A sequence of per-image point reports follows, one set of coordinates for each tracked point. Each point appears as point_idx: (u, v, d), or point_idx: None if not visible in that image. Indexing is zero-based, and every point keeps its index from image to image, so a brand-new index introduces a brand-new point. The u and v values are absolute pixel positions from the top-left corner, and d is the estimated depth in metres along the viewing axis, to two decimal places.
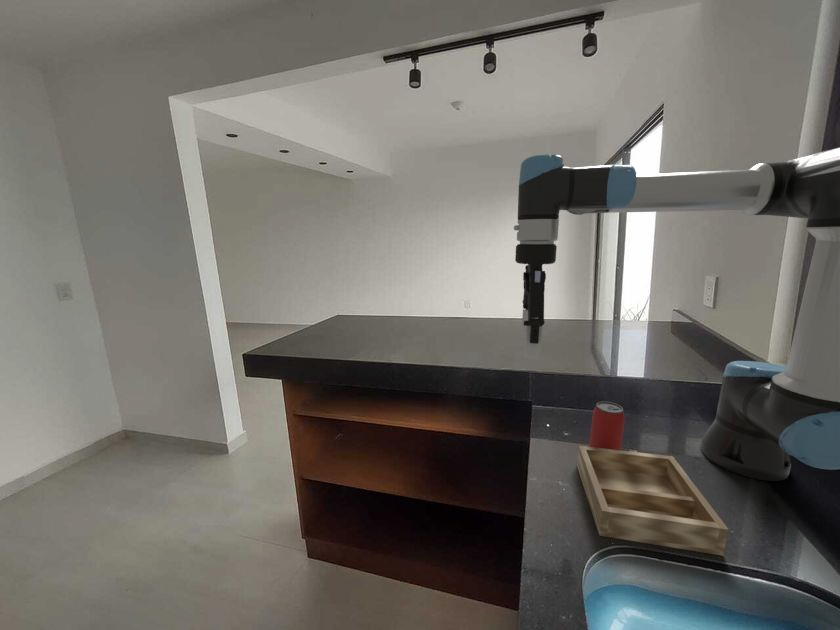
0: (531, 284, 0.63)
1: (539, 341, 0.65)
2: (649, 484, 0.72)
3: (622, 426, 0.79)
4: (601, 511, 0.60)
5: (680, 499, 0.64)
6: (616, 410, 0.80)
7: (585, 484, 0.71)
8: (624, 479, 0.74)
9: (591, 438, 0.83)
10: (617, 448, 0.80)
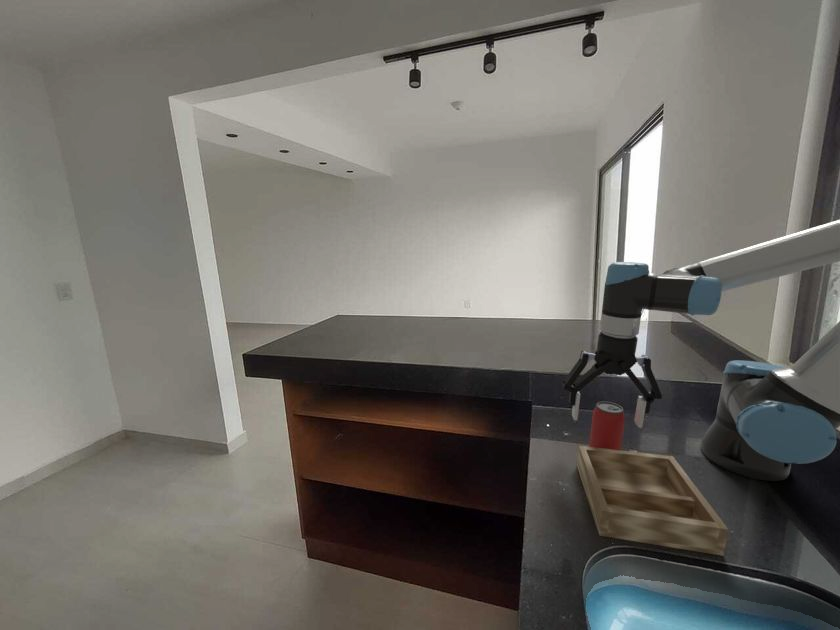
0: (578, 360, 0.81)
1: (575, 405, 0.82)
2: (649, 484, 0.72)
3: (622, 426, 0.79)
4: (601, 511, 0.60)
5: (680, 499, 0.64)
6: (616, 410, 0.80)
7: (585, 484, 0.71)
8: (624, 479, 0.74)
9: (591, 438, 0.83)
10: (617, 448, 0.80)
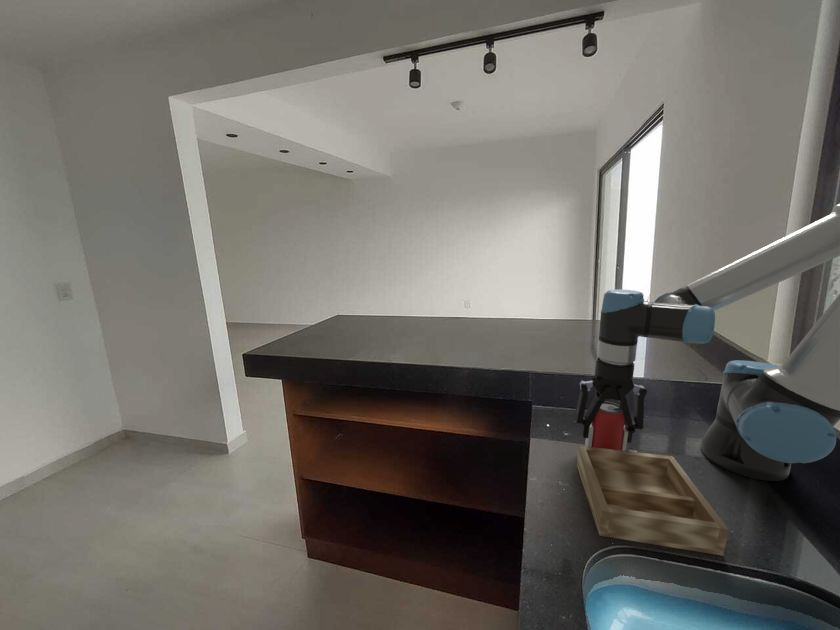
0: (580, 390, 0.83)
1: (588, 438, 0.83)
2: (649, 484, 0.72)
3: (622, 426, 0.79)
4: (601, 511, 0.60)
5: (680, 499, 0.64)
6: (616, 410, 0.80)
7: (585, 484, 0.71)
8: (624, 479, 0.74)
9: None
10: (617, 448, 0.80)
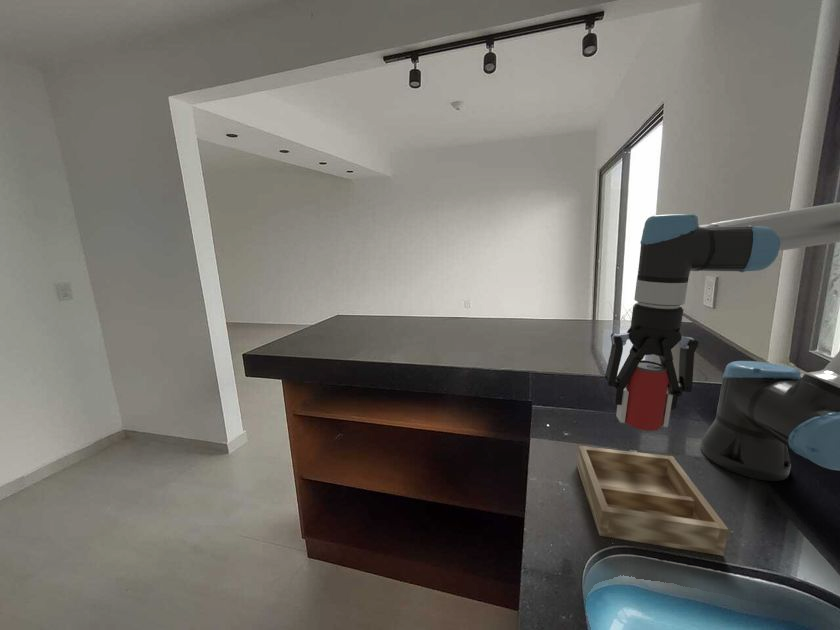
0: (612, 346, 0.67)
1: (622, 405, 0.67)
2: (649, 484, 0.72)
3: (666, 388, 0.64)
4: (601, 511, 0.60)
5: (680, 499, 0.64)
6: (658, 368, 0.65)
7: (585, 484, 0.71)
8: (624, 479, 0.74)
9: None
10: (659, 415, 0.65)
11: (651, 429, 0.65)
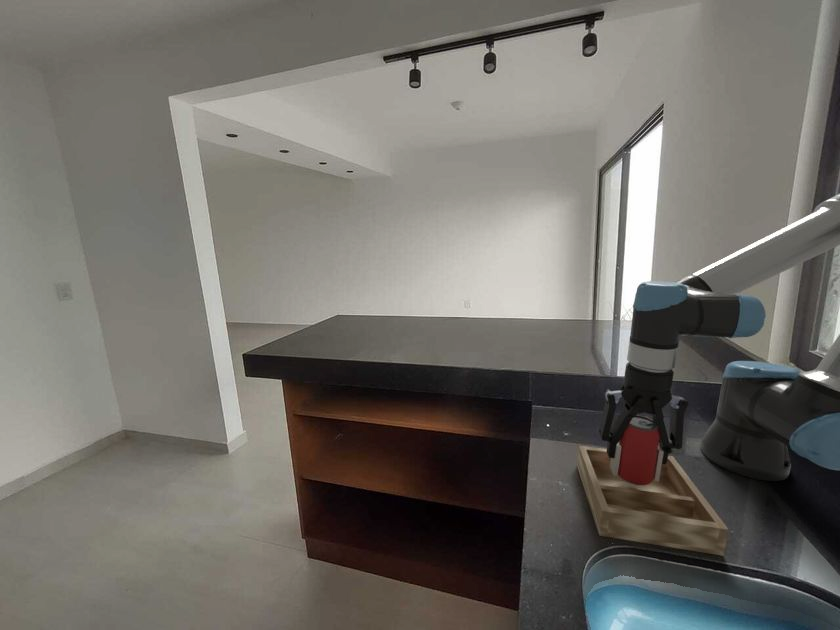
0: None
1: (615, 458, 0.70)
2: (649, 484, 0.72)
3: (657, 445, 0.66)
4: (601, 511, 0.60)
5: (680, 499, 0.64)
6: (649, 426, 0.67)
7: (585, 484, 0.71)
8: None
9: None
10: (651, 471, 0.67)
11: (643, 484, 0.67)
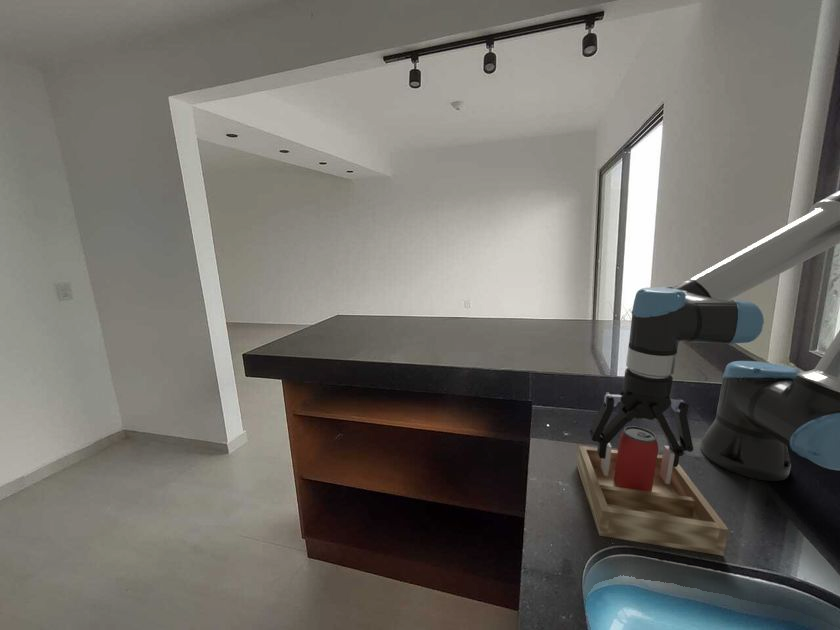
0: (603, 403, 0.70)
1: (605, 459, 0.70)
2: None
3: (655, 457, 0.67)
4: (601, 511, 0.60)
5: (680, 499, 0.64)
6: (648, 437, 0.68)
7: (585, 484, 0.71)
8: None
9: (617, 469, 0.71)
10: (650, 482, 0.68)
11: None
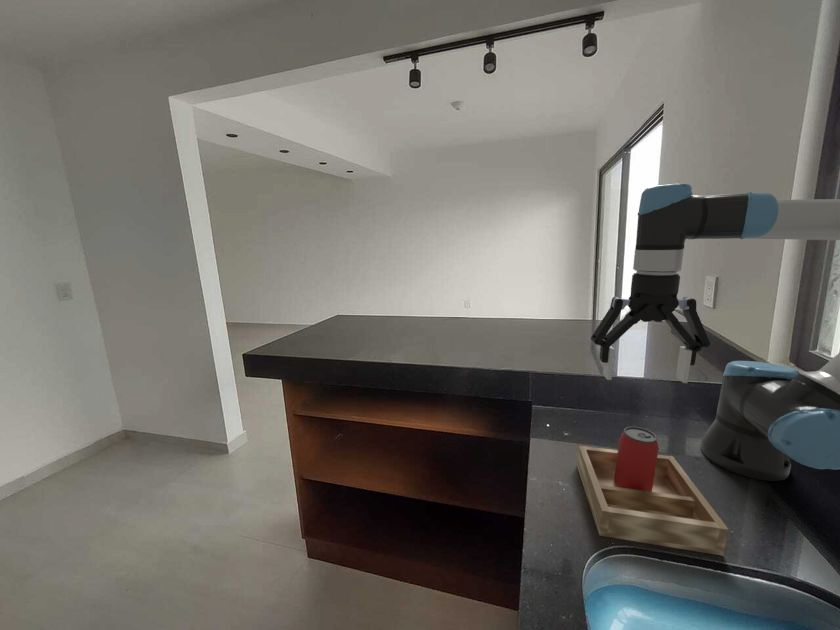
0: None
1: (608, 362, 0.70)
2: None
3: (656, 457, 0.67)
4: (601, 511, 0.60)
5: (680, 499, 0.64)
6: (648, 438, 0.68)
7: (585, 484, 0.71)
8: None
9: (617, 470, 0.71)
10: (650, 483, 0.68)
11: None
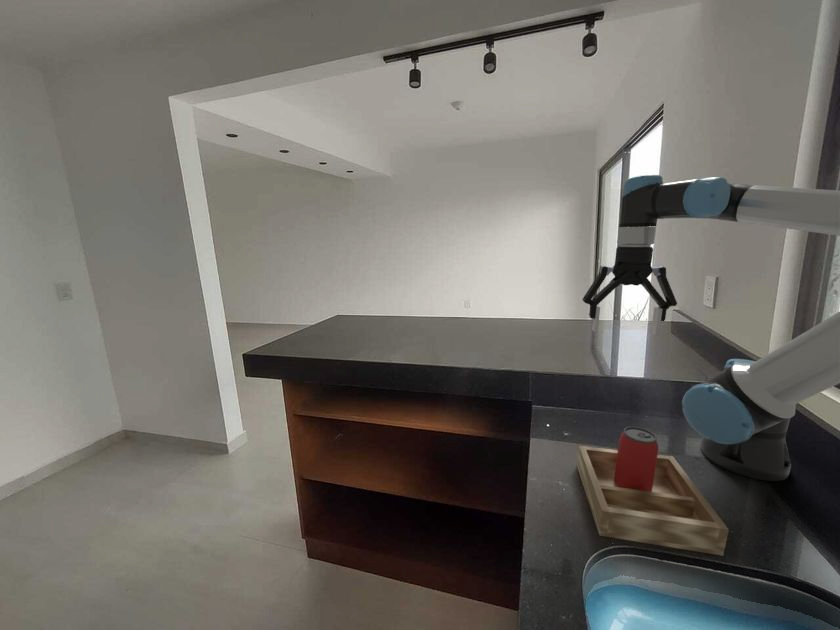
0: (598, 275, 0.88)
1: (595, 318, 0.88)
2: None
3: (655, 457, 0.67)
4: (601, 511, 0.60)
5: (680, 499, 0.64)
6: (648, 438, 0.68)
7: (585, 484, 0.71)
8: None
9: (617, 470, 0.71)
10: (649, 483, 0.68)
11: None
